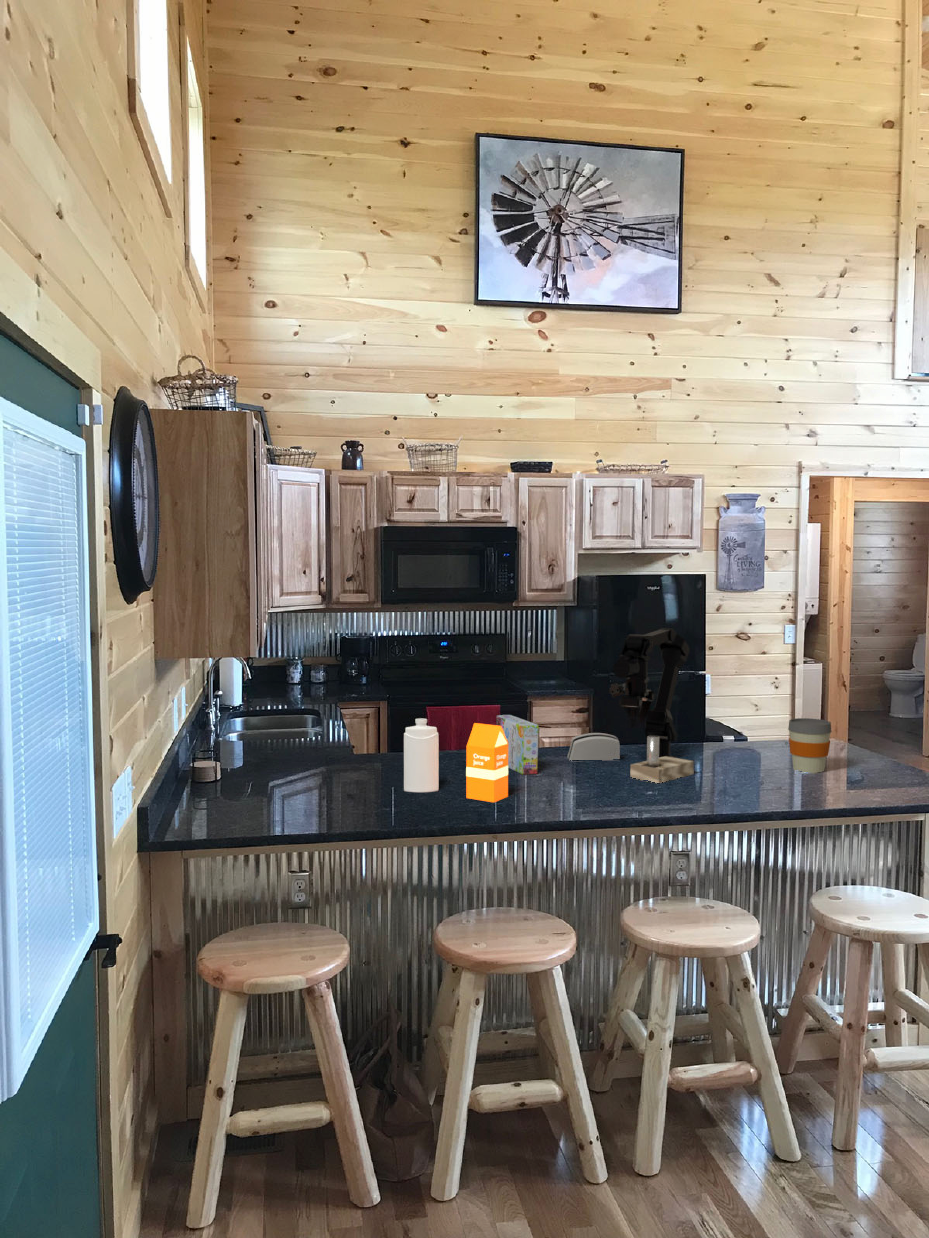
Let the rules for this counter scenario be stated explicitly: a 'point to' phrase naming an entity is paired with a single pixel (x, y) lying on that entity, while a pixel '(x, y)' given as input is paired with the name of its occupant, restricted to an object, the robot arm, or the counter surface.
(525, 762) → the snack box
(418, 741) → the squeeze bottle
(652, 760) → the steel peg
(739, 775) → the counter surface
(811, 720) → the reusable coffee cup
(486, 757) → the orange juice
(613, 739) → the napkin holder
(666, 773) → the birch hole board
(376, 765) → the counter surface
